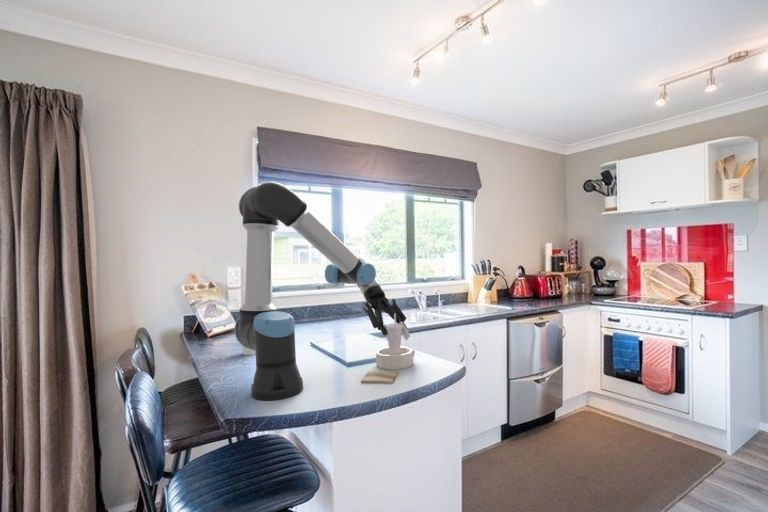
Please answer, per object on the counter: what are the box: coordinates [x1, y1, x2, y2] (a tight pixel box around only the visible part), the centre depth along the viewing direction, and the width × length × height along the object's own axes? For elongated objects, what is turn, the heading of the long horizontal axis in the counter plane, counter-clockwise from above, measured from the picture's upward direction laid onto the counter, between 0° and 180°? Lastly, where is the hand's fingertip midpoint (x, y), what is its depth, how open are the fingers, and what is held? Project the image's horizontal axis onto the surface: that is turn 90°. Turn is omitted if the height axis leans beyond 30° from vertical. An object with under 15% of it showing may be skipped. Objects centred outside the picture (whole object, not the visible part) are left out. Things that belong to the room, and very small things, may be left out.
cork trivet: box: [360, 370, 399, 385], centre depth 123 cm, size 10×10×1 cm
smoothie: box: [386, 313, 403, 353], centre depth 137 cm, size 6×6×14 cm
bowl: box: [375, 346, 414, 371], centre depth 137 cm, size 13×13×5 cm
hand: (400, 339), depth 135 cm, fingers closed on smoothie, 6 cm apart
